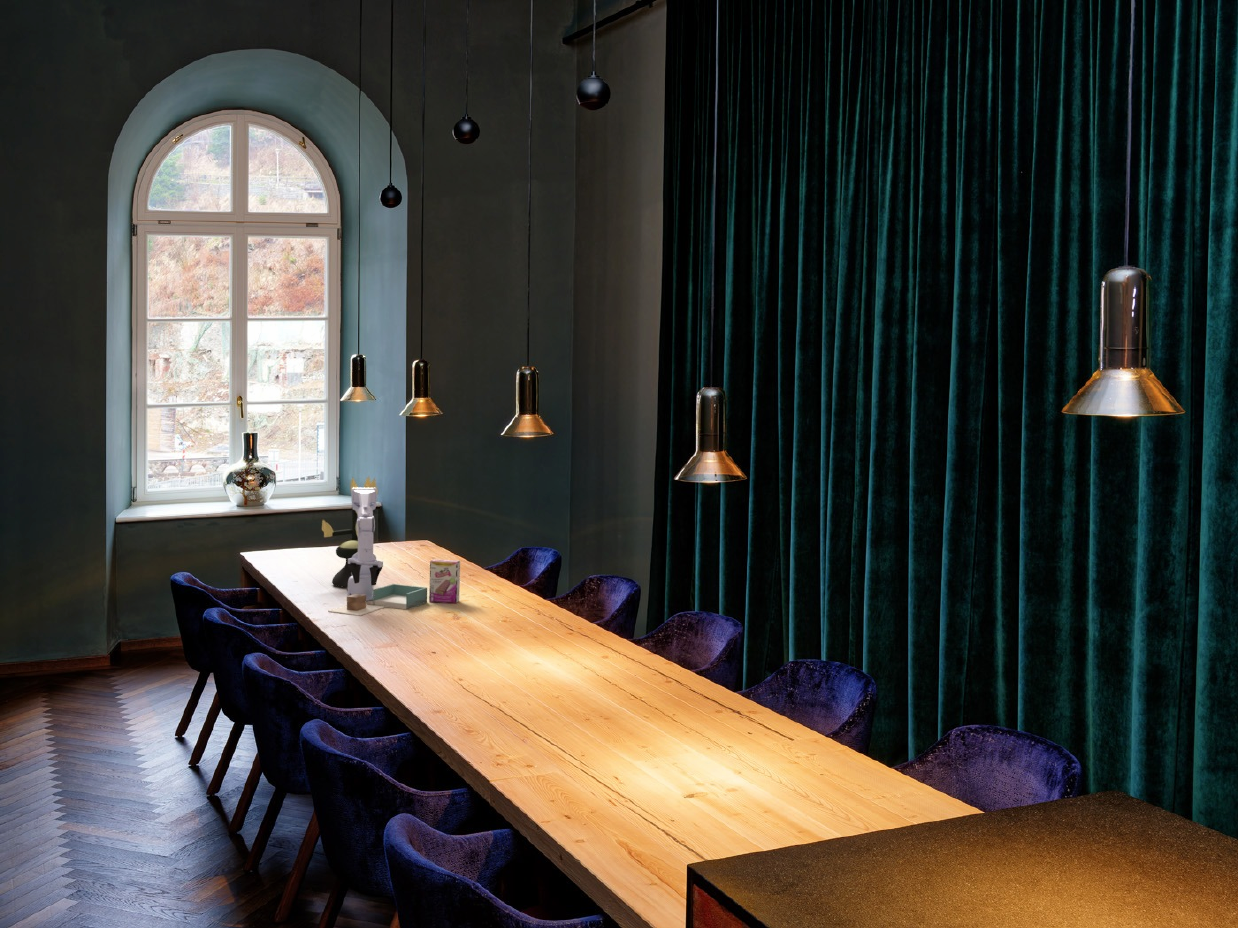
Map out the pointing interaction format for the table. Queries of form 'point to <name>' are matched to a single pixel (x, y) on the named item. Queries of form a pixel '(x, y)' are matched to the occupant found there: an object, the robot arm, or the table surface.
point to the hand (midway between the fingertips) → (365, 584)
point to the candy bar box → (444, 581)
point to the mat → (360, 612)
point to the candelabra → (348, 547)
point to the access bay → (400, 596)
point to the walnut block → (356, 602)
